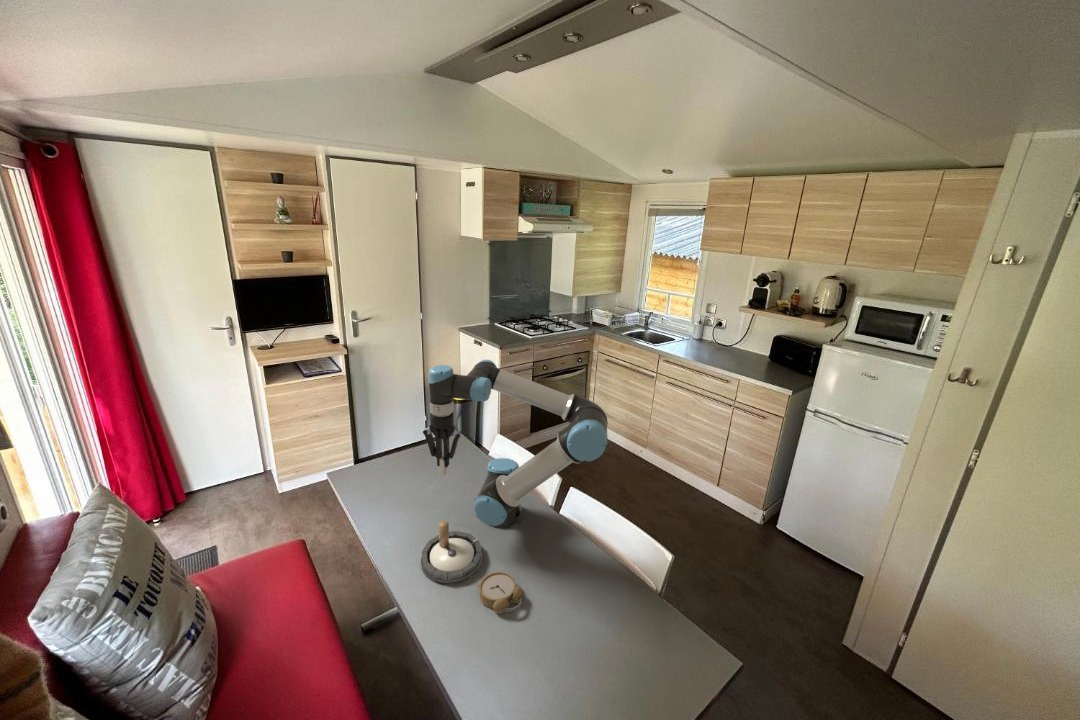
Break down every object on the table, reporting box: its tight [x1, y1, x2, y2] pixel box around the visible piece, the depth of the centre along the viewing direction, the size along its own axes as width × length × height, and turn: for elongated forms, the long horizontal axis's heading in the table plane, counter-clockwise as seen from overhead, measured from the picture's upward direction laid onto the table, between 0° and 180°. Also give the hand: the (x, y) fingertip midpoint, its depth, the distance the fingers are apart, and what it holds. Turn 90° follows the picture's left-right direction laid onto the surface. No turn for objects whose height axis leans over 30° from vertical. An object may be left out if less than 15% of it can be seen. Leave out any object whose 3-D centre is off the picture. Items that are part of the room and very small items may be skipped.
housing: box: [420, 530, 483, 585], centre depth 145 cm, size 20×20×4 cm
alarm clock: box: [476, 571, 524, 614], centre depth 132 cm, size 11×5×15 cm
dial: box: [430, 520, 474, 572], centre depth 143 cm, size 14×14×10 cm
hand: (443, 473), depth 149 cm, fingers closed
